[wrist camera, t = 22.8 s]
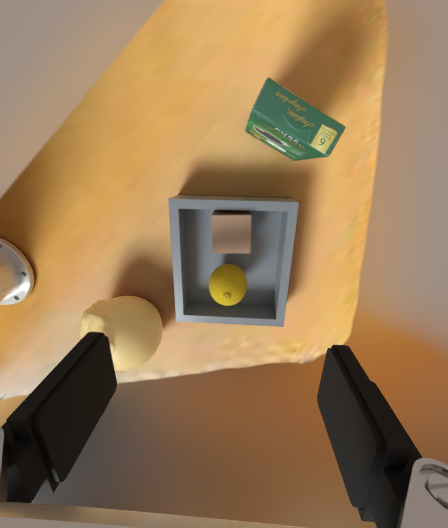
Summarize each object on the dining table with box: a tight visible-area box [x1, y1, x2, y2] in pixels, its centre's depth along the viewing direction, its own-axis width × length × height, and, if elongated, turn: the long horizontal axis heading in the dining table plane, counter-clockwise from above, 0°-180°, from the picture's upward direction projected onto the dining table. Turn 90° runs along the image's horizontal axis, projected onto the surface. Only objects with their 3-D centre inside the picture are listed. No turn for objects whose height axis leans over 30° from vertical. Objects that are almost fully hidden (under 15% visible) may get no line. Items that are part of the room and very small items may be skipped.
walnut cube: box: [211, 210, 251, 253], centre depth 34 cm, size 5×5×5 cm
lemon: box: [209, 264, 247, 306], centre depth 35 cm, size 6×6×8 cm
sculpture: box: [80, 296, 163, 371], centre depth 39 cm, size 12×12×11 cm
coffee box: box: [246, 78, 345, 161], centre depth 26 cm, size 8×3×13 cm, turn 62°
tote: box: [169, 195, 299, 327], centre depth 36 cm, size 16×18×5 cm
